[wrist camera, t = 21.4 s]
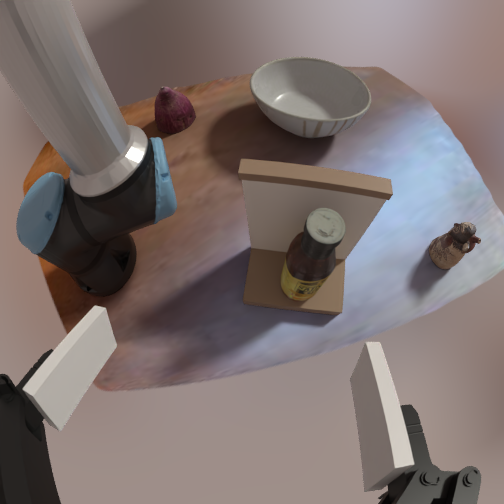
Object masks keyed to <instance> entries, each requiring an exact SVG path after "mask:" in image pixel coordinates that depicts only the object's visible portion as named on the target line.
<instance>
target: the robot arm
mask: <svg viewBox="0 0 504 504" xmlns="http://www.w3.org/2000/svg"><path fill="white" fill-rule="evenodd" d="M0 71H1V73H2V74H3V76H4V77H5V79H6V81H7V82H8V84H9V85H10V87H11V88H12V90H13V92H14V93H15V94H16V96H17V98H18V99H19V101H20V102H21V103H22V105H23V106H24V108H25V109H26V111H27V112H28V113H29V115H30V116H31V118H32V119H33V120H34V122H35V123H36V125H37V126H38V127H39V129H40V130H41V131H42V133H43V134H44V135H45V137H46V138H47V139H48V141H49V142H50V143H51V144H52V146H53V147H54V148H55V150H56V151H57V152H58V153H59V155H60V156H61V157H62V158H63V160H64V161H65V162H66V163H67V165H68V166H69V167H70V168H71V171H70V177H69V178H68V179H63V177H62V176H61V175H60V174H57V173H54V172H50V173H47V174H45V175H43V176H42V177H40V178H39V179H38V180H37V181H36V182H35V183H34V184H33V185H32V187H31V188H30V189H29V191H28V192H27V194H26V196H25V198H24V200H23V202H22V204H21V207H20V209H19V213H18V218H17V226H16V227H17V235H18V238H19V240H20V242H21V243H22V244H23V245H24V246H25V247H27V248H28V249H29V250H30V251H31V252H32V253H33V254H36V255H38V256H40V257H41V258H43V259H45V260H47V261H48V262H50V263H52V264H54V265H56V266H57V267H59V268H61V269H63V270H65V271H67V272H68V273H69V274H70V275H71V277H72V278H73V279H74V281H75V282H76V283H77V285H78V286H79V287H80V288H81V289H82V290H84V291H85V292H87V293H90V294H92V295H94V296H107V295H110V294H113V293H115V292H116V291H118V290H119V289H120V288H121V287H122V286H123V285H124V284H125V283H126V282H127V281H128V279H129V277H130V276H131V274H132V272H133V269H134V266H135V262H136V246H135V243H134V240H133V238H132V237H131V235H130V234H129V233H131V232H133V231H136V230H139V229H141V228H144V227H147V226H149V225H152V224H156V223H157V222H158V221H160V220H162V219H165V218H167V217H169V216H171V215H173V214H174V212H175V211H176V209H177V201H176V197H175V192H174V188H173V184H172V180H171V175H170V171H169V167H168V163H167V159H166V154H165V150H164V146H163V142H162V139H161V138H159V137H156V138H153V137H152V138H150V139H149V140H148V139H147V136H146V135H145V133H144V132H143V130H141V129H140V128H138V127H136V126H131V125H127V124H126V122H125V120H124V118H123V116H122V114H121V112H120V110H119V108H118V106H117V104H116V102H115V100H114V98H113V96H112V94H111V92H110V90H109V88H108V86H107V83H106V81H105V79H104V77H103V75H102V73H101V71H100V68H99V66H98V64H97V62H96V60H95V58H94V55H93V53H92V51H91V48H90V46H89V44H88V42H87V39H86V37H85V35H84V33H83V30H82V27H81V25H80V23H79V21H78V18H77V15H76V13H75V10H74V8H73V5H72V3H71V0H0ZM116 347H117V344H116V341H115V338H114V335H113V332H112V328H111V325H110V321H109V318H108V314H107V311H106V308H104V307H100V306H96V305H95V306H94V307H93V308H92V309H91V310H90V311H89V312H88V313H87V314H86V315H85V316H84V318H83V319H82V320H81V321H80V322H79V323H78V324H77V325H76V326H75V327H74V328H73V329H72V331H71V332H70V333H69V334H68V335H67V336H66V338H64V340H63V341H62V342H61V343H60V344H59V346H57V348H56V349H55V350H52V349H51V350H49V351H47V352H46V353H44V354H43V355H42V356H41V357H40V359H39V360H38V362H37V363H35V364H34V366H33V368H31V369H30V370H29V372H28V373H27V374H26V375H25V377H24V378H23V379H22V380H21V381H20V383H19V384H18V385H17V386H16V387H15V385H14V384H13V382H12V381H11V379H10V378H9V377H8V376H7V375H5V374H0V504H61V502H60V499H59V496H58V492H57V489H56V485H55V481H54V477H53V473H52V468H51V464H50V459H49V454H48V448H47V442H46V435H45V428H44V424H43V422H42V421H43V419H45V420H46V421H47V422H48V423H49V425H51V426H52V427H54V428H56V429H57V430H59V431H61V430H62V429H63V427H64V426H65V424H66V422H67V421H68V419H69V418H70V416H71V414H72V413H73V411H74V410H75V408H76V406H77V405H78V403H79V402H80V400H81V399H82V397H83V396H84V394H85V392H86V391H87V389H88V388H89V386H90V385H91V383H92V382H93V380H94V379H95V377H96V376H97V374H98V373H99V371H100V370H101V368H102V367H103V366H104V364H105V363H106V361H107V360H108V358H109V357H110V355H111V354H112V353H113V351H114V350H115V348H116ZM350 382H351V387H352V394H353V400H354V406H355V413H356V420H357V427H358V434H359V442H360V450H361V459H362V469H363V480H364V491H365V492H367V491H374V490H380V489H383V488H384V487H385V486H386V485H388V491H387V492H385V493H384V494H382V495H381V496H380V497H379V499H381V498H382V499H381V501H380V502H379V503H378V504H477V500H478V495H479V490H480V483H481V474H480V472H479V470H478V469H477V468H476V467H473V466H468V467H465V468H464V469H462V470H461V471H460V472H450V471H441V470H440V469H439V468H438V467H437V466H435V465H433V464H432V462H431V460H430V457H429V452H428V448H427V444H426V440H425V437H424V433H423V429H422V426H421V425H420V419H419V416H418V413H417V412H416V410H415V409H414V408H413V406H412V405H402V406H400V404H399V400H398V397H397V393H396V390H395V386H394V384H393V380H392V377H391V374H390V370H389V368H388V364H387V362H386V358H385V355H384V352H383V350H382V347H381V344H380V342H365V345H364V347H363V350H362V353H361V355H360V358H359V360H358V363H357V365H356V367H355V369H354V372H353V374H352V376H351V378H350Z"/></svg>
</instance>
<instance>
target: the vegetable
mask: <svg viewBox="0 0 504 504" xmlns="http://www.w3.org/2000/svg"><path fill="white" fill-rule="evenodd" d="M195 118H196V115H195V111H194V109H193V106H192V104H191V103H190V101H189V100H188V98H187V97H185V96H184V95H183V94H181V93H180V92H178V91H175V90H172V89H170V88H168V87H161V89H160V90H159V94H158V95H157V97H156V100H155V121H156V124H157V128H158V129H159V131H161V132H164V133H169V134H172V133H178V132H181V131H182V130H184V129H186V128H188V127H189V126H190V125H191V124H192V123H193V121H194V120H195Z"/></svg>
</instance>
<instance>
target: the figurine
mask: <svg viewBox="0 0 504 504" xmlns="http://www.w3.org/2000/svg"><path fill="white" fill-rule="evenodd" d="M475 232H476V227H475V226H474V225H473V224H471V223H470V222H464V223H461V224H458V223H455V224H454V227H453V228H452V229H451V230H450V231H449V232H448V233H446V234H444V235H442V236H439V237H437V238H436V239H434V240H433V241H432V243H431V245H430V247H429V253H430V257H431V259H432V261H433V262H434V263H435V264H436V265H437V266H438V267H439V268H441V269H449V268H451V267H453V266H455V265H456V264H457V263H458V262H459V261H460V260H461V259H462V257H463V256H464V255H465V253H468V252H470V251H471V250H473V248H474V247H475V243H478V244H480V242H481V239H480V238H478V237H476V236H475ZM468 244H469V249H468Z"/></svg>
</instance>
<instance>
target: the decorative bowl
mask: <svg viewBox="0 0 504 504" xmlns="http://www.w3.org/2000/svg"><path fill="white" fill-rule="evenodd" d="M250 89H251V92H252V95H253V97H254V99H255V101H256V103H257V104H258V106H259V107H260V109H261V110H262V111H263V113H264V114H265V115H266V116H267V117H268V118H269V119H270V120H271V121H272V122H274V123H275V124H276V125H278V126H279V127H281V128H283V129H284V130H286V131H289V132H291V133H293V134H295V135H298V136H301V137H306V138H317V137H326V136H331V135H334V134H338V133H340V132H342V131H344V130H346V129H348V128H350V127H351V126H353V125H354V124H355V123H356V122H357V121H359V120H360V119H361V118H362V116H363V115H364V114H365V113H366V111H367V110H368V108H369V106H370V104H371V94H370V91H369V89H368V87H367V86H366V84H365V83H364V82H363V81H362V80H361V79H360V78H359V77H358V76H357V75H355V74H354V73H353V72H351V71H349V70H348V69H346V68H344V67H342V66H339V65H337V64H335V63H332V62H329V61H325V60H321V59H316V58H308V57H289V58H282V59H277V60H274V61H271V62H268V63H266V64H264V65H262V66H261V67H259V68H258V69H257V70H256V71H255V72H254V73H253V75H252V77H251V79H250Z"/></svg>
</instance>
